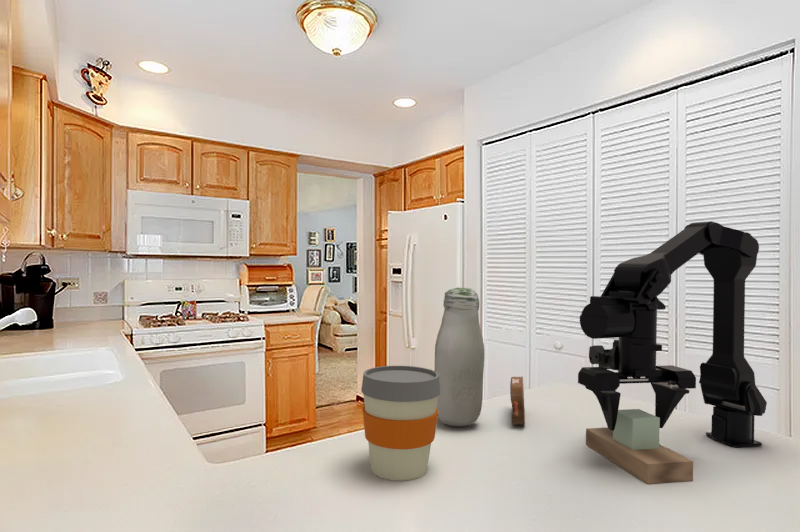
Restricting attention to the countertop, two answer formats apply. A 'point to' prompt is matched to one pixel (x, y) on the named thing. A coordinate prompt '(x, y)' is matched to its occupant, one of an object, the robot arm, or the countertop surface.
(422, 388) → the reusable coffee cup
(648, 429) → the sage block
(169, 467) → the countertop surface
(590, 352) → the robot arm
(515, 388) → the tin
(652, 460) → the walnut base
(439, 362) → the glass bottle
